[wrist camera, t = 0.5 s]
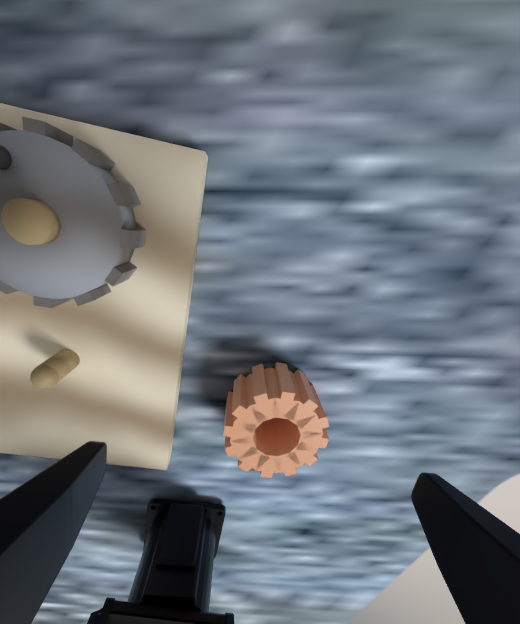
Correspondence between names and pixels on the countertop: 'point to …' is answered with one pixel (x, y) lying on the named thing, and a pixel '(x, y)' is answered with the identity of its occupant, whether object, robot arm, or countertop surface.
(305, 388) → the coral gear
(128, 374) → the gear board
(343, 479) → the countertop surface
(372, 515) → the countertop surface
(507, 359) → the countertop surface
